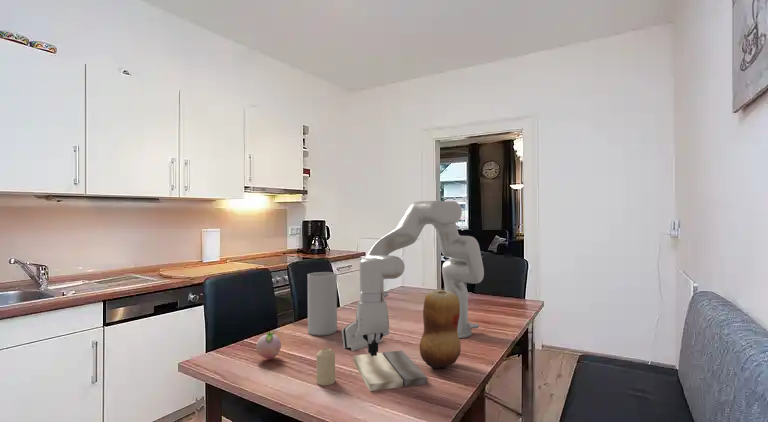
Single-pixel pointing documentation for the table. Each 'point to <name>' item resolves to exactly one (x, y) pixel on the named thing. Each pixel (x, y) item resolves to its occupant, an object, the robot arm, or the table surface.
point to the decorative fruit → (268, 345)
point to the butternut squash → (440, 329)
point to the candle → (325, 367)
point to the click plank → (377, 372)
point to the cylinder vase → (322, 303)
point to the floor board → (405, 368)
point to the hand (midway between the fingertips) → (373, 354)
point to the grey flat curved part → (353, 338)
